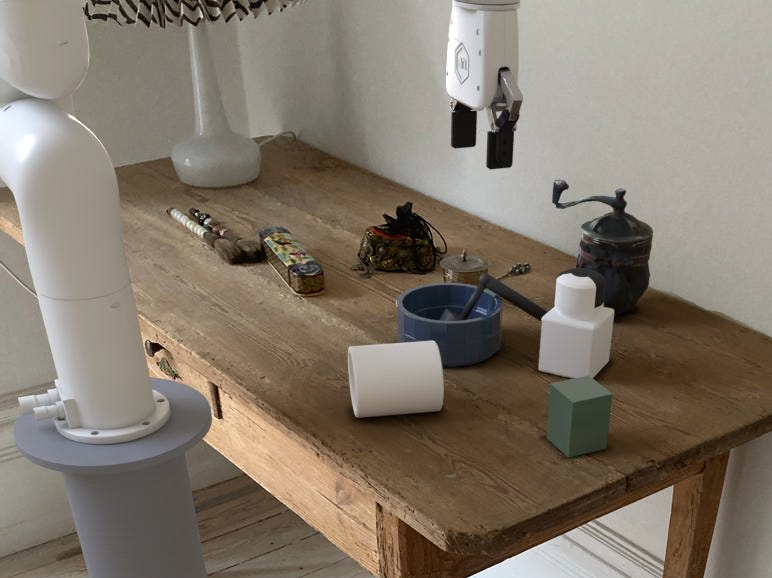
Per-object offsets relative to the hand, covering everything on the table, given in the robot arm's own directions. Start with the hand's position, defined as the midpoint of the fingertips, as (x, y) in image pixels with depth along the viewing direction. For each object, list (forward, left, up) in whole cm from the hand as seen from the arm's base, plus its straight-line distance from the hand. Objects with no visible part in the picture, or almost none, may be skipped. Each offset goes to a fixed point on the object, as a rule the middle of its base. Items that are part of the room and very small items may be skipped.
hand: (480, 157), depth 124 cm
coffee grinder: (+19, +1, -23) cm, 30 cm away
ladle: (+1, -1, -24) cm, 24 cm away
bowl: (-5, -1, -23) cm, 23 cm away
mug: (-18, -13, -23) cm, 32 cm away
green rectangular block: (-3, -31, -23) cm, 38 cm away
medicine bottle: (+7, -13, -23) cm, 27 cm away
